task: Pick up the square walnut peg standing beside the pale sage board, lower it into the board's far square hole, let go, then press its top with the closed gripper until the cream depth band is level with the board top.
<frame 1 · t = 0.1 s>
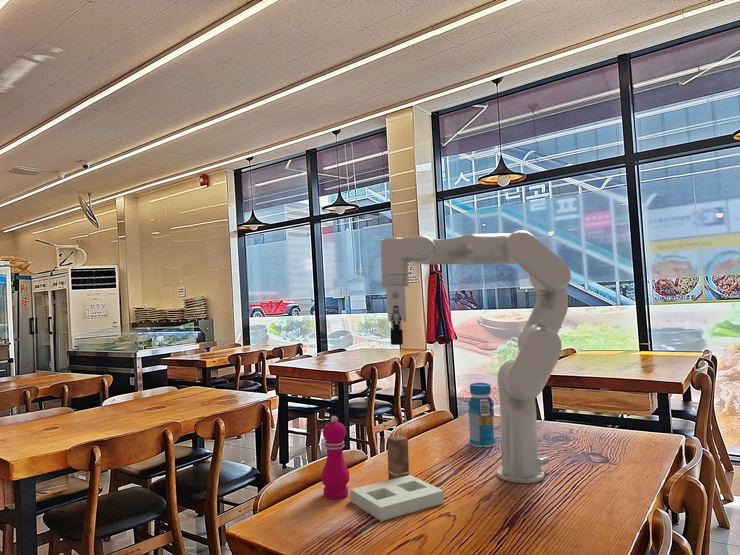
hand: (396, 343, 150), 37 cm above the table, tool pointing down, fingers open, 9 cm apart
beverage bottle: (482, 445, 179), on the table
peg: (398, 482, 144), on the table
pepper mill: (335, 495, 137), on the table
board: (397, 502, 131), on the table
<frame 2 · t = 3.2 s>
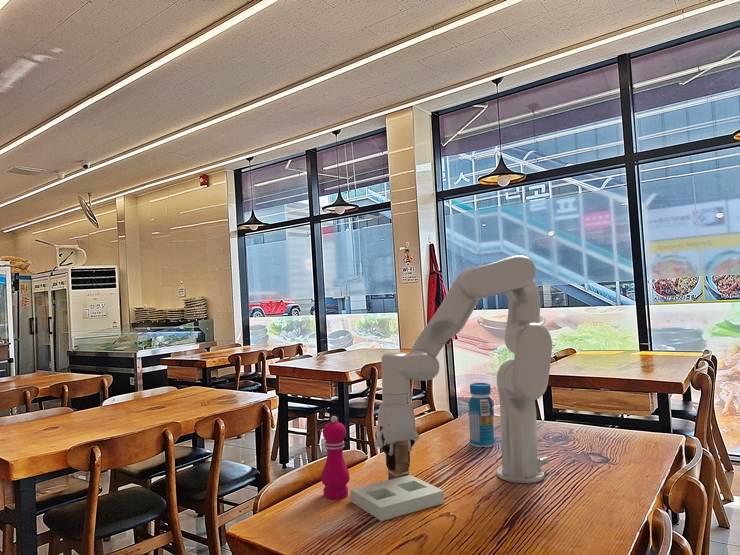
hand: (398, 466, 145), 4 cm above the table, tool pointing down, fingers closed on peg, 4 cm apart
peg: (398, 482, 144), on the table, touching gripper
everything else where it was.
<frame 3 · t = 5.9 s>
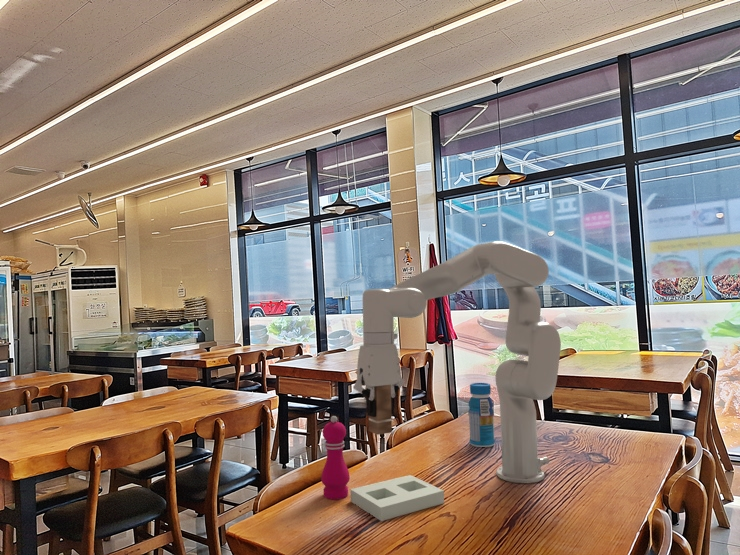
hand: (380, 414, 131), 22 cm above the table, tool pointing down, fingers closed on peg, 4 cm apart
peg: (380, 431, 131), point 17 cm above the table, touching gripper
everything else where it was.
when the fingers open (6 cm above the table, at t = 8.4 s): peg drops 1 cm, resting in board.
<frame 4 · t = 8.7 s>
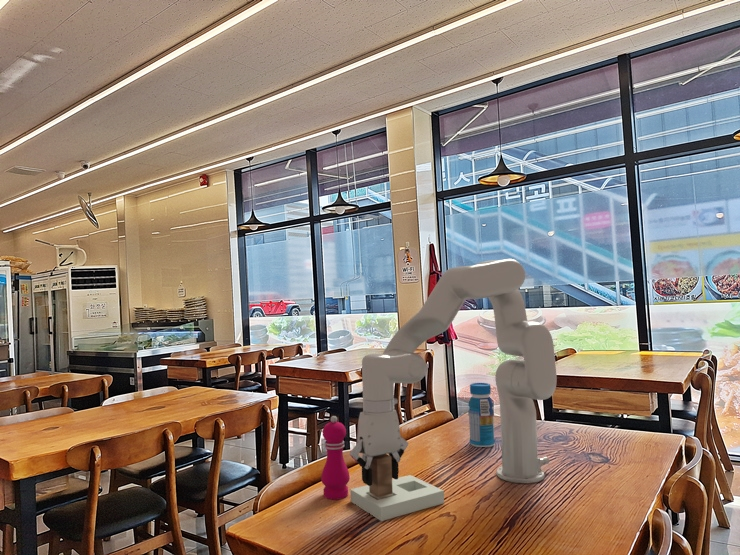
hand: (380, 480, 129), 6 cm above the table, tool pointing down, fingers open, 6 cm apart
peg: (381, 506, 129), resting in board
everything else where it was.
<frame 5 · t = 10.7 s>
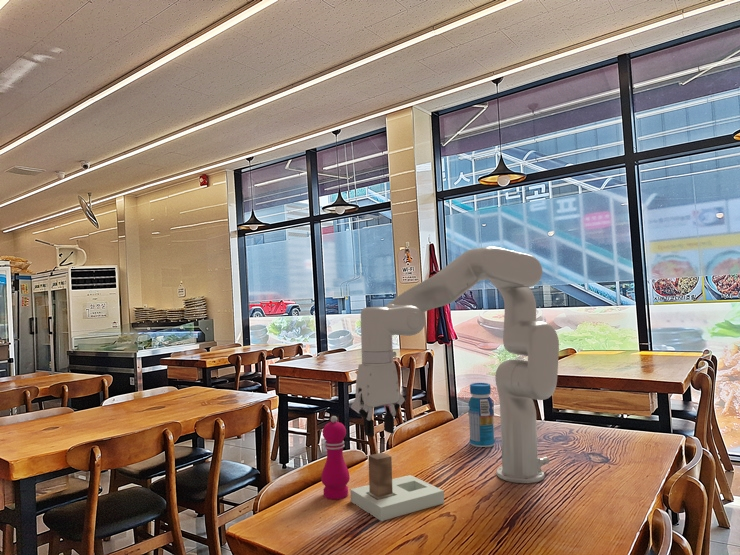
hand: (379, 433, 129), 17 cm above the table, tool pointing down, fingers open, 4 cm apart
nothing on the table moved.
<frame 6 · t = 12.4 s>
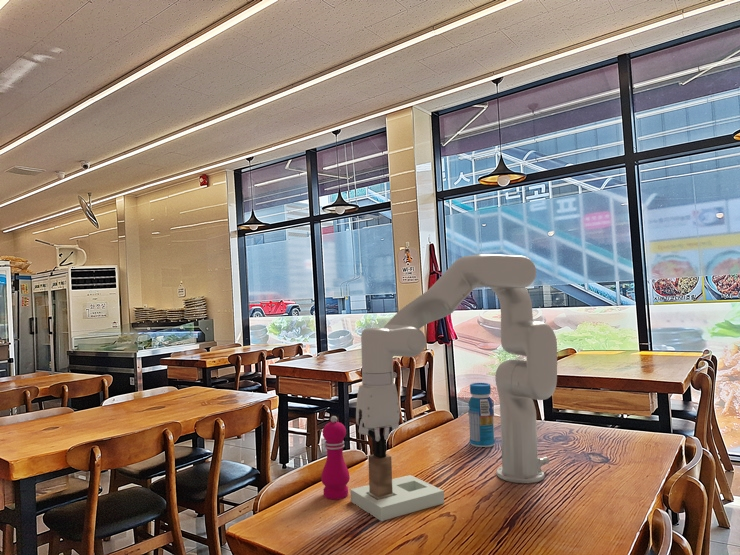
hand: (379, 455, 129), 12 cm above the table, tool pointing down, fingers closed
peg: (381, 506, 129), resting in board, touching gripper
everything else where it was.
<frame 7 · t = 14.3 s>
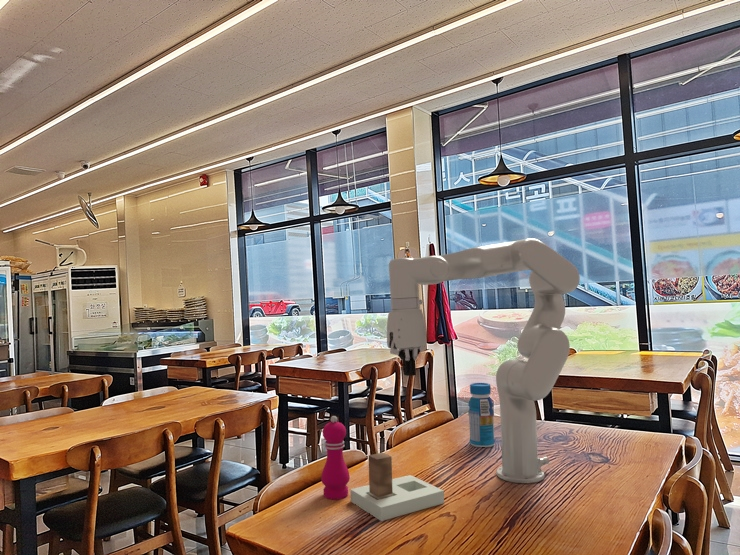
hand: (409, 375, 141), 29 cm above the table, tool pointing down, fingers closed
peg: (381, 506, 129), resting in board
everything else where it was.
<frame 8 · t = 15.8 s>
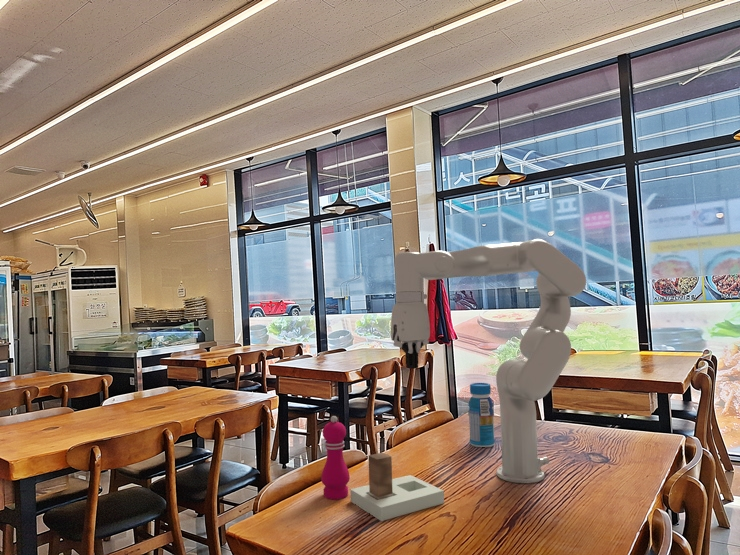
hand: (412, 367, 142), 31 cm above the table, tool pointing down, fingers closed
nothing on the table moved.
at the end: peg 0.1 cm from the target spot on the board, point 0.0 cm above the board's base; peg tilted 0°; the gripper is holding nothing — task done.
